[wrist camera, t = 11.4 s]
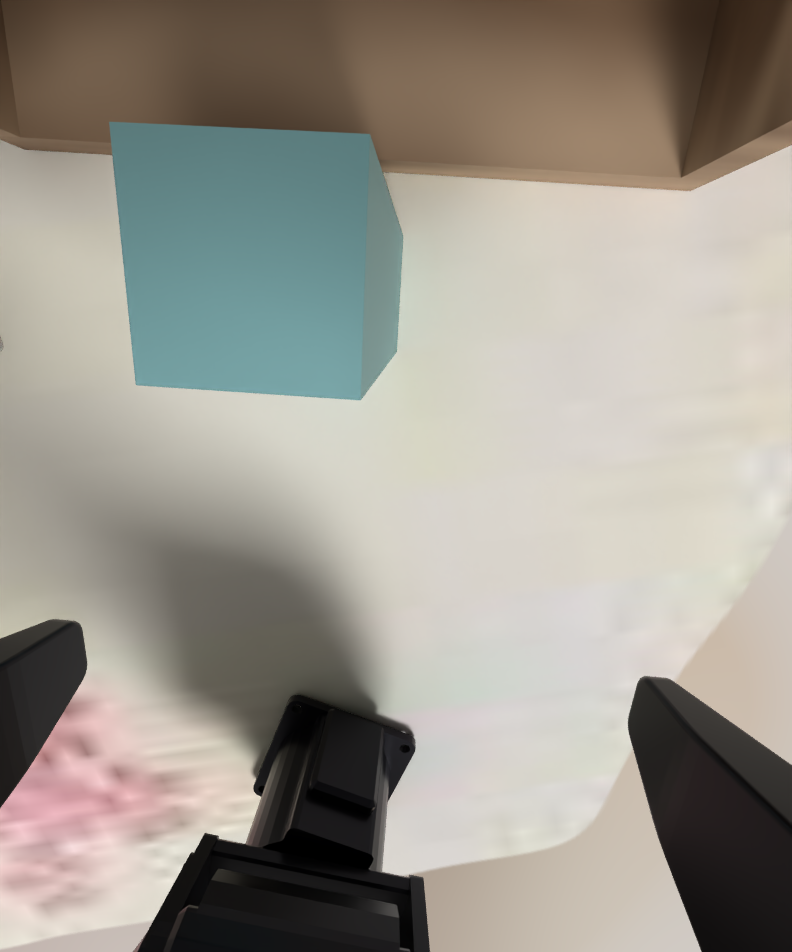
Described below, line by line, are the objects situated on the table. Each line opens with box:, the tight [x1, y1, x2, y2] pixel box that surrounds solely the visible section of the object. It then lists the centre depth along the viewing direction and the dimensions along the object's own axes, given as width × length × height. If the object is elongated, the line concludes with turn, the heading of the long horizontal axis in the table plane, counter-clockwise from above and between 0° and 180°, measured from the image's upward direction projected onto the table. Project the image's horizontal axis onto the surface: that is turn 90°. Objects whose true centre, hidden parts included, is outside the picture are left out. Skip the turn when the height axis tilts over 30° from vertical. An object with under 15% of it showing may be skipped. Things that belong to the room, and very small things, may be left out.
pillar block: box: [109, 122, 403, 400], centre depth 14 cm, size 4×4×11 cm
